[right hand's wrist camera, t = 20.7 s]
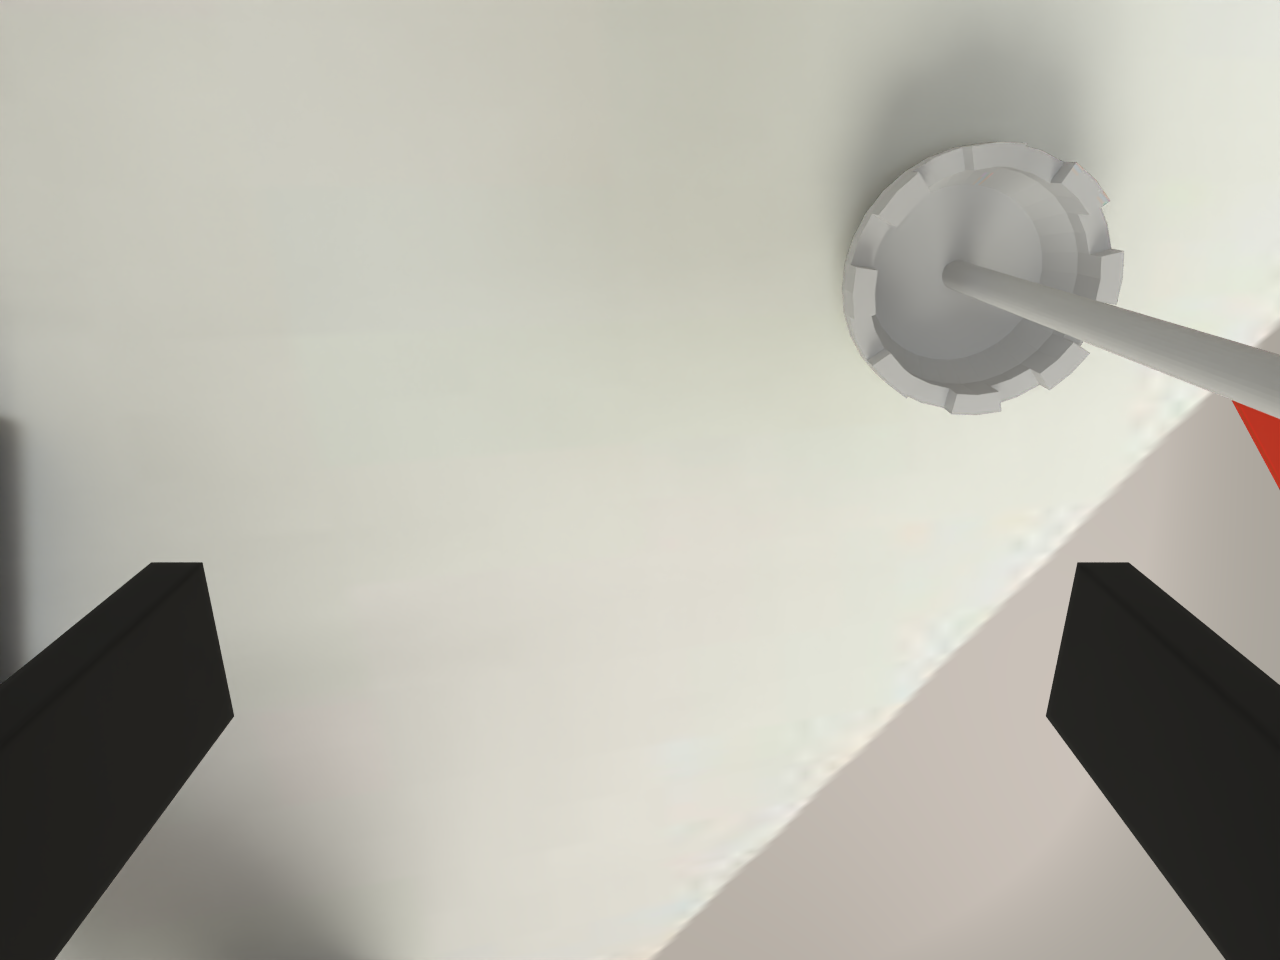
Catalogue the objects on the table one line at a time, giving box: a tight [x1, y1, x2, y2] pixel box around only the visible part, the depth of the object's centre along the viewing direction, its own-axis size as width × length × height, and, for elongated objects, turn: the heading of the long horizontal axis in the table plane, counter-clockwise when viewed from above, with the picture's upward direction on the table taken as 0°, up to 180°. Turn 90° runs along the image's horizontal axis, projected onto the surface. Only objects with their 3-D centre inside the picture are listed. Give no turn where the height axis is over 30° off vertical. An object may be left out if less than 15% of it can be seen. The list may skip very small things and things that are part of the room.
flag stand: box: [842, 142, 1280, 489], centre depth 31 cm, size 13×13×30 cm
